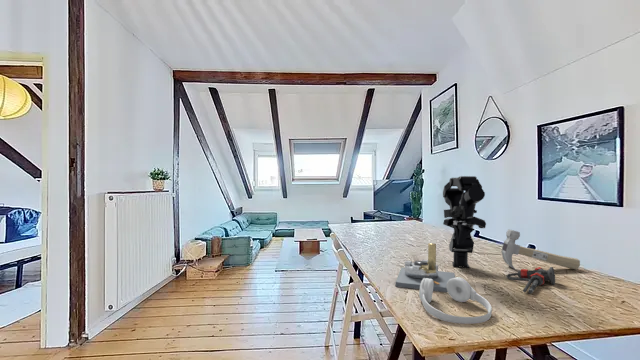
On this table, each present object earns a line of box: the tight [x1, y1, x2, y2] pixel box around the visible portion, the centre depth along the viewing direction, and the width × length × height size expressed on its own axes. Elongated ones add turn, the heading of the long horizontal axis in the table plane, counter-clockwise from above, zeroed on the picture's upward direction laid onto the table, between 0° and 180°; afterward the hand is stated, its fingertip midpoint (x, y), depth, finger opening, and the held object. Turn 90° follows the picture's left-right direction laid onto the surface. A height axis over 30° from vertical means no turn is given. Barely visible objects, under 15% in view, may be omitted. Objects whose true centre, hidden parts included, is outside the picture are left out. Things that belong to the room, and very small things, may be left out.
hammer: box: [501, 229, 581, 271], centre depth 138 cm, size 16×5×30 cm
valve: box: [506, 266, 556, 295], centre depth 118 cm, size 6×26×15 cm
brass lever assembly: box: [404, 242, 439, 279], centre depth 121 cm, size 15×12×13 cm
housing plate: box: [395, 267, 456, 293], centre depth 120 cm, size 20×20×2 cm
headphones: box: [418, 276, 493, 325], centre depth 95 cm, size 7×18×20 cm
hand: (458, 244), depth 126 cm, fingers closed
